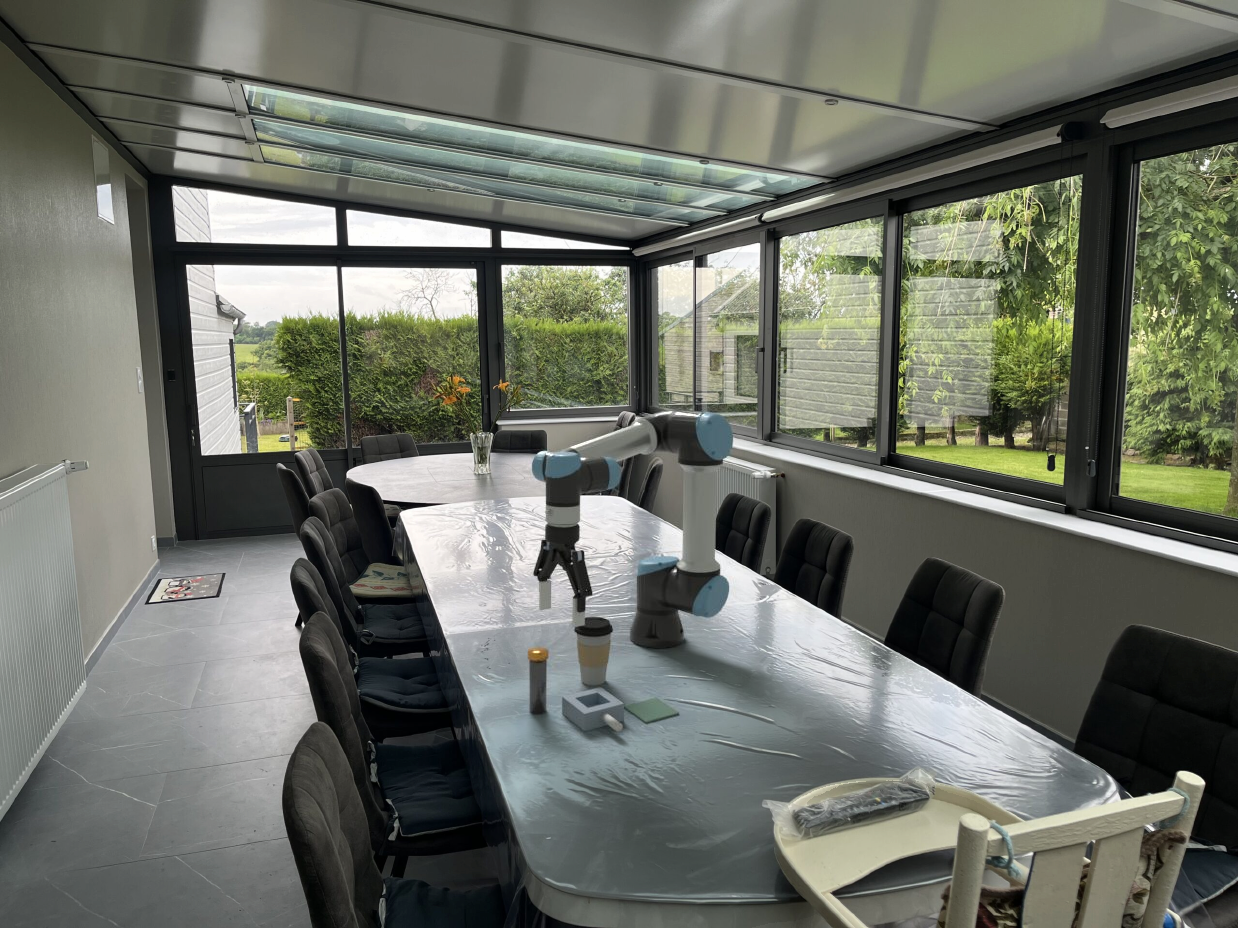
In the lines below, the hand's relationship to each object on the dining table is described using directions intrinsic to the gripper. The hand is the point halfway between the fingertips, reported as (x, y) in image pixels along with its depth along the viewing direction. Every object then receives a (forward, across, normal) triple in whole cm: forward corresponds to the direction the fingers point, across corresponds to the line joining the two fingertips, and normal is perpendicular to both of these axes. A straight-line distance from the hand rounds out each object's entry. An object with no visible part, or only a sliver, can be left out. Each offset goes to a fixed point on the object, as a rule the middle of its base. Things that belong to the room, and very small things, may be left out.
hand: (561, 617), depth 185 cm
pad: (+22, +12, +17) cm, 30 cm away
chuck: (+22, +10, +4) cm, 24 cm away
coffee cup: (+22, -9, +15) cm, 28 cm away
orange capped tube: (+22, -3, -4) cm, 22 cm away
